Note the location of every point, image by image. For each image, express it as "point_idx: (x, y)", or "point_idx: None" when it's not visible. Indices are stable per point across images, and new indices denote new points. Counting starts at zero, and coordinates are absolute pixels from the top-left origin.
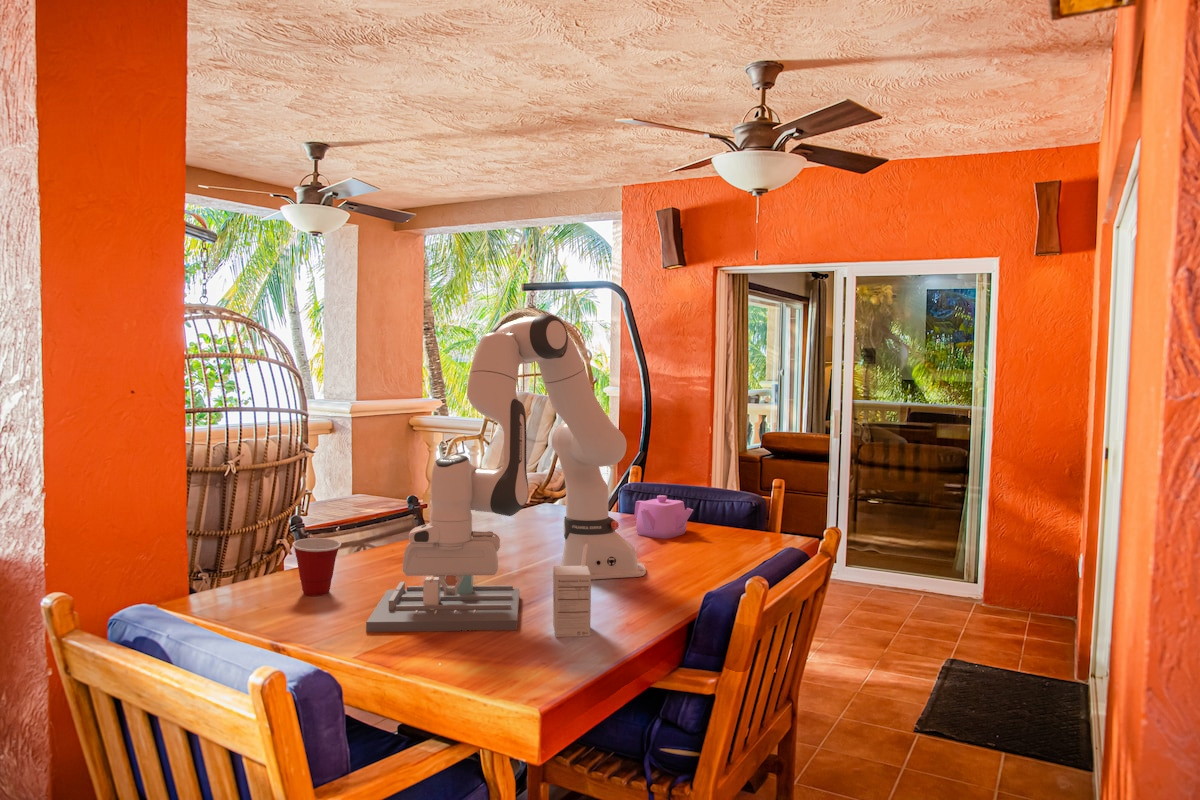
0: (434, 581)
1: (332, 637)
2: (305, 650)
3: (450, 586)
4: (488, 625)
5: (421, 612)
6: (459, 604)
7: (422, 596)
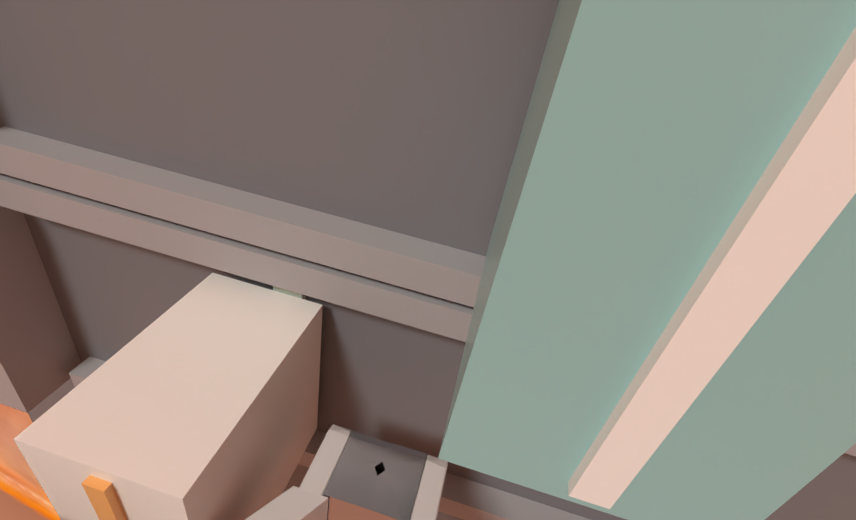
0: None
1: (12, 426)
2: (10, 480)
3: (357, 514)
4: None
5: None
6: (455, 500)
7: (160, 245)
